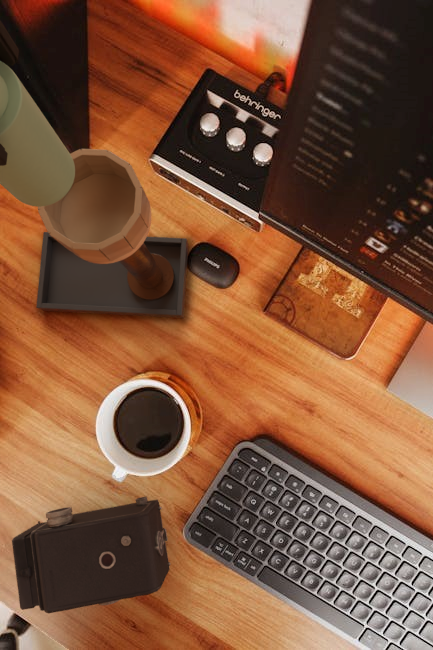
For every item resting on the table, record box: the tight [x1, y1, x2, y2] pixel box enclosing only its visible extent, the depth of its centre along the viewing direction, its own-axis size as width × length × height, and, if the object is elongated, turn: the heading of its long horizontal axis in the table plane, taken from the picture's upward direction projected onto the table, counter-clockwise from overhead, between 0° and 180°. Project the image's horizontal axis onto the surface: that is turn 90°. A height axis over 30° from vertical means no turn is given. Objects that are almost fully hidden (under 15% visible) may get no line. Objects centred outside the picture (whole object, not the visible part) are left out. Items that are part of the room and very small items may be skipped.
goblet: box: [37, 148, 175, 301], centre depth 53 cm, size 7×7×28 cm
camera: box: [11, 496, 172, 614], centre depth 59 cm, size 11×11×15 cm
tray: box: [36, 231, 189, 319], centre depth 67 cm, size 17×9×2 cm, turn 87°
